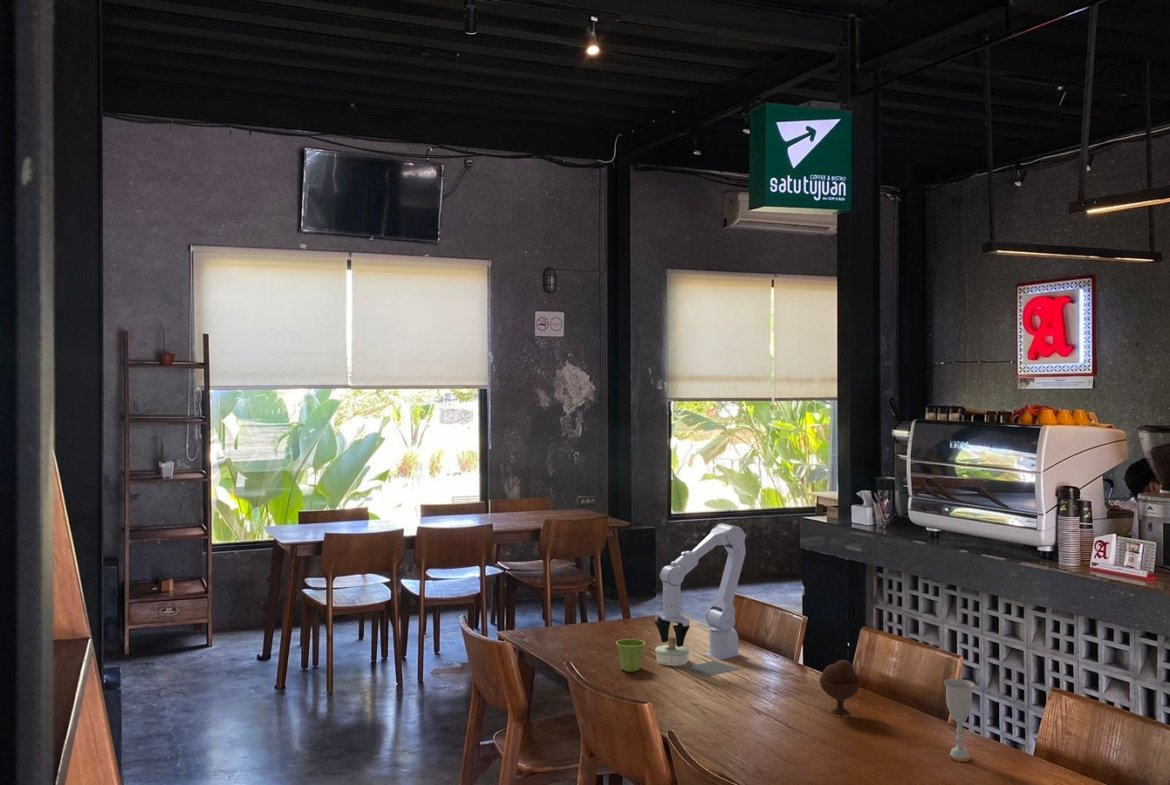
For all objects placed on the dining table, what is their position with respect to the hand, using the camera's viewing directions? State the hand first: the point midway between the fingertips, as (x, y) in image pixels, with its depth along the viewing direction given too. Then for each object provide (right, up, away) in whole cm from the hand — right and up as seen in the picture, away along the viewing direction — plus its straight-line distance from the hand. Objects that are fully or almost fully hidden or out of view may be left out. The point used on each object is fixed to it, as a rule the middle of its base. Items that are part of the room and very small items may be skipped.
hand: (672, 644), depth 326 cm
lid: (0, -2, 0) cm, 2 cm away
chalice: (+61, -5, -88) cm, 107 cm away
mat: (+12, -6, -9) cm, 16 cm away
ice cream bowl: (+41, -6, -54) cm, 68 cm away
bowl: (0, -6, 0) cm, 6 cm away
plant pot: (-14, -6, -8) cm, 17 cm away
